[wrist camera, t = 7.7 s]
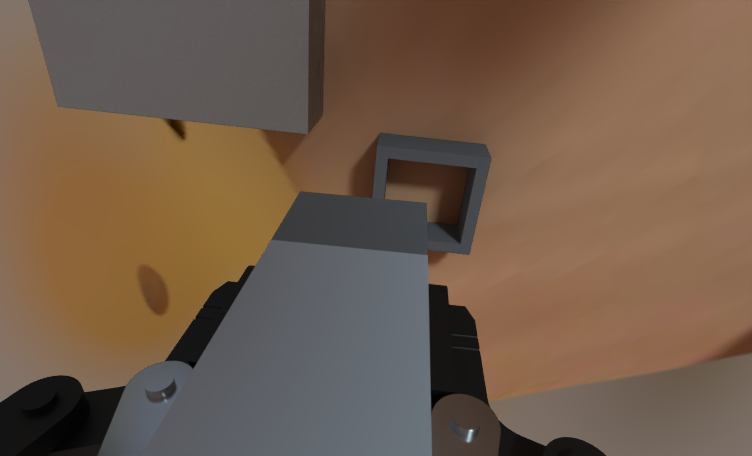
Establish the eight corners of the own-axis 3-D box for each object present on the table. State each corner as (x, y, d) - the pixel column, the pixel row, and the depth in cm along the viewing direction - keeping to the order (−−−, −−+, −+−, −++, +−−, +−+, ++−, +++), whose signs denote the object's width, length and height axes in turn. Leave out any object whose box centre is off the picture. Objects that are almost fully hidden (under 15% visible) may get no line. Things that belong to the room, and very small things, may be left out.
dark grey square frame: (485, 144, 27) (491, 158, 24) (465, 235, 30) (469, 254, 28) (380, 133, 27) (376, 145, 25) (371, 224, 30) (368, 242, 28)
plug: (426, 202, 13) (433, 508, 5) (414, 303, 15) (404, 633, 7) (300, 191, 14) (133, 469, 6) (303, 291, 15) (182, 600, 8)
